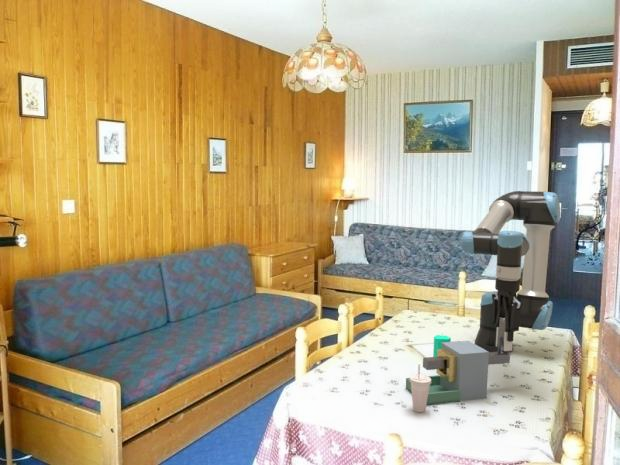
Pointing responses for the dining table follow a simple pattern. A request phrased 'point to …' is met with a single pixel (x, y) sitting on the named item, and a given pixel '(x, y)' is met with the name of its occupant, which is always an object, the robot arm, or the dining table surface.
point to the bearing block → (468, 370)
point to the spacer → (448, 365)
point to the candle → (439, 342)
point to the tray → (437, 392)
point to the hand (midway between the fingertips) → (503, 348)
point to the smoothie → (420, 391)
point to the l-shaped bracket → (494, 357)
